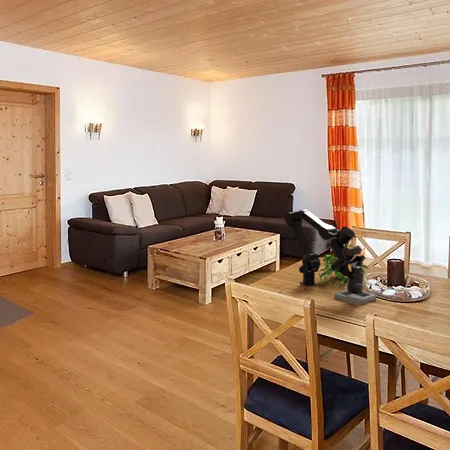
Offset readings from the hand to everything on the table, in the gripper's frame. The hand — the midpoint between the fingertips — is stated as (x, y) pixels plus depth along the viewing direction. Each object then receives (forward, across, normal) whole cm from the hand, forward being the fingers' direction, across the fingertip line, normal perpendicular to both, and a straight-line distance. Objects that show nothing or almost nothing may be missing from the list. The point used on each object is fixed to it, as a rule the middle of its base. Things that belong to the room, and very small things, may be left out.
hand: (358, 278), depth 203 cm
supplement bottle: (+4, 0, +6) cm, 7 cm away
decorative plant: (-10, +17, +24) cm, 31 cm away
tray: (+6, 0, +8) cm, 10 cm away
